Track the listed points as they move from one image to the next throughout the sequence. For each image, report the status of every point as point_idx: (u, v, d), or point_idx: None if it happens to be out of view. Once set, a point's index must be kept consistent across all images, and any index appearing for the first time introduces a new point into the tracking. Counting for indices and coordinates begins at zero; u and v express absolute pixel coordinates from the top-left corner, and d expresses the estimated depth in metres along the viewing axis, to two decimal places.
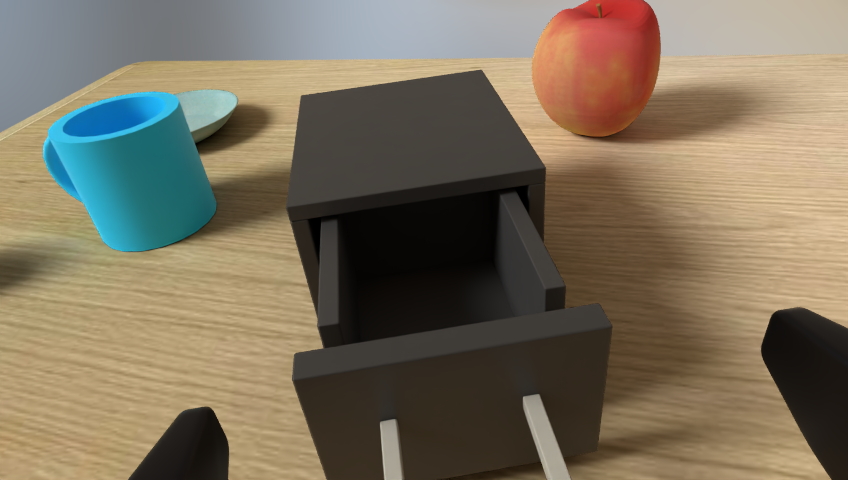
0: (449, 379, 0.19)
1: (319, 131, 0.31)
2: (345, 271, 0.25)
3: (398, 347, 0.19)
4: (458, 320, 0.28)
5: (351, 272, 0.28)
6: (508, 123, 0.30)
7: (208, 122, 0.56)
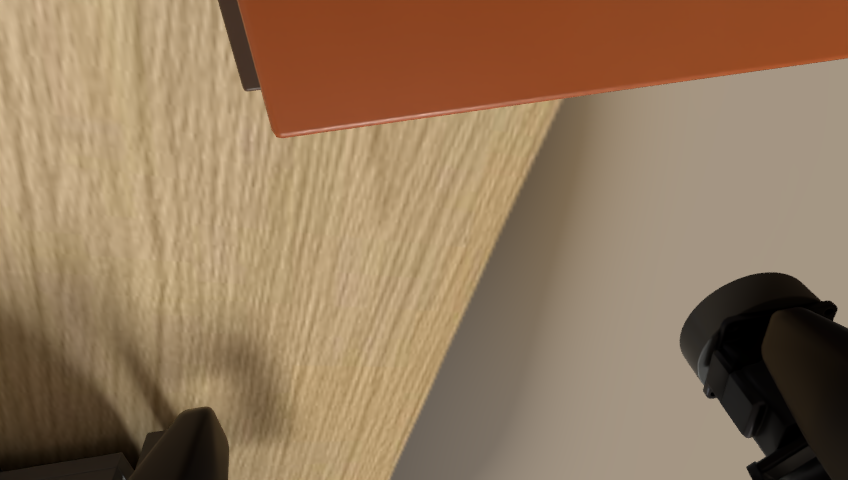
0: None
1: None
2: None
3: None
4: None
5: None
6: None
7: None
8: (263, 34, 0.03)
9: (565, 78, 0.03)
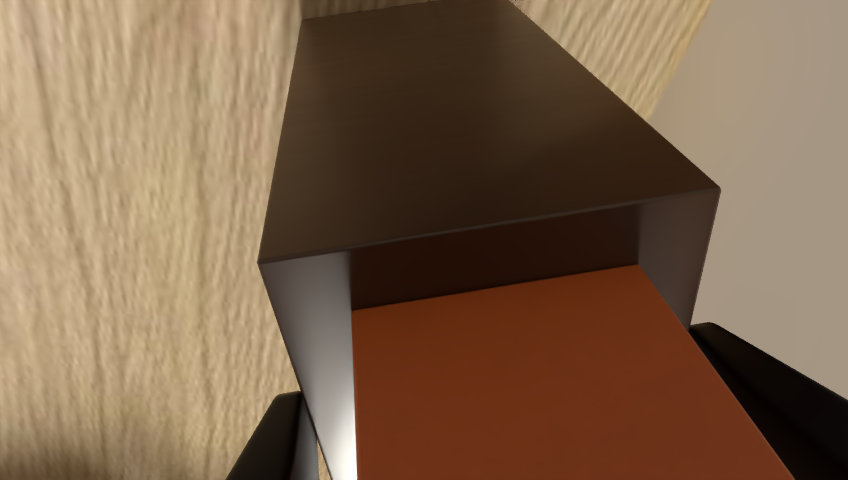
0: None
1: None
2: None
3: None
4: None
5: None
6: None
7: None
8: None
9: None
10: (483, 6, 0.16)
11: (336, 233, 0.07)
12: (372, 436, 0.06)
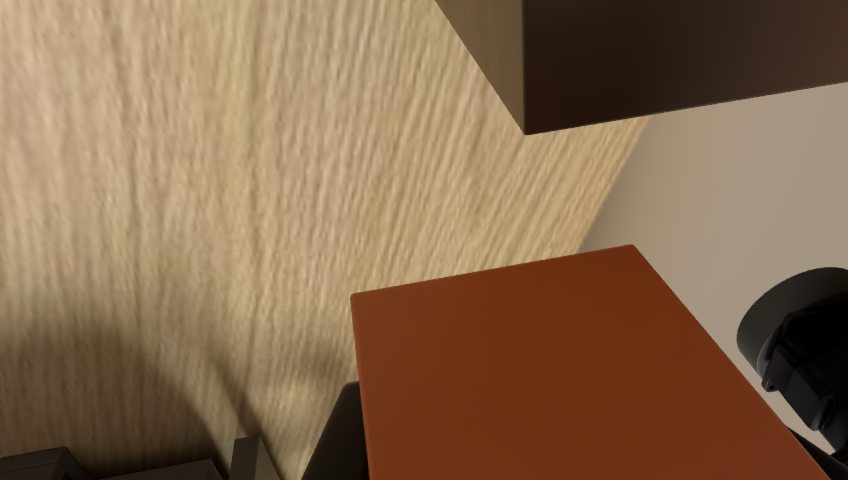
0: None
1: None
2: None
3: None
4: None
5: None
6: None
7: None
8: None
9: None
10: None
11: None
12: (380, 414, 0.06)
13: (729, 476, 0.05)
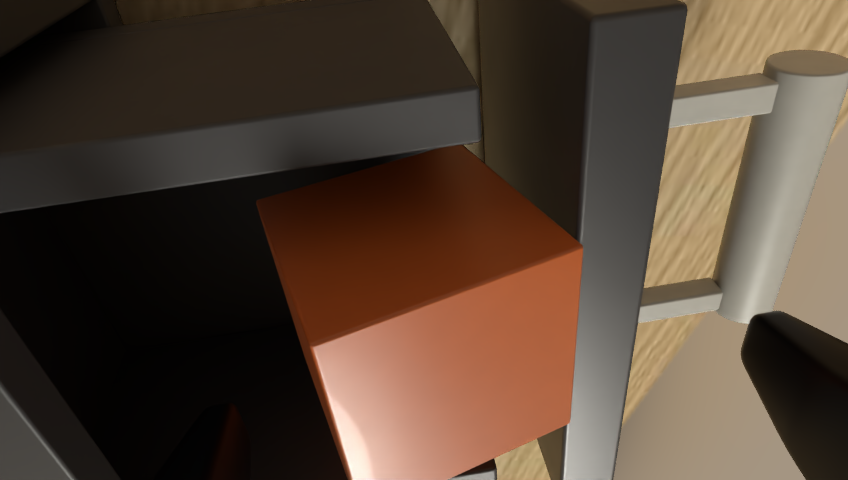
0: None
1: None
2: (262, 443, 0.13)
3: (596, 399, 0.11)
4: None
5: (179, 396, 0.14)
6: None
7: None
8: (300, 339, 0.12)
9: None
10: None
11: None
12: (362, 173, 0.10)
13: (332, 293, 0.08)
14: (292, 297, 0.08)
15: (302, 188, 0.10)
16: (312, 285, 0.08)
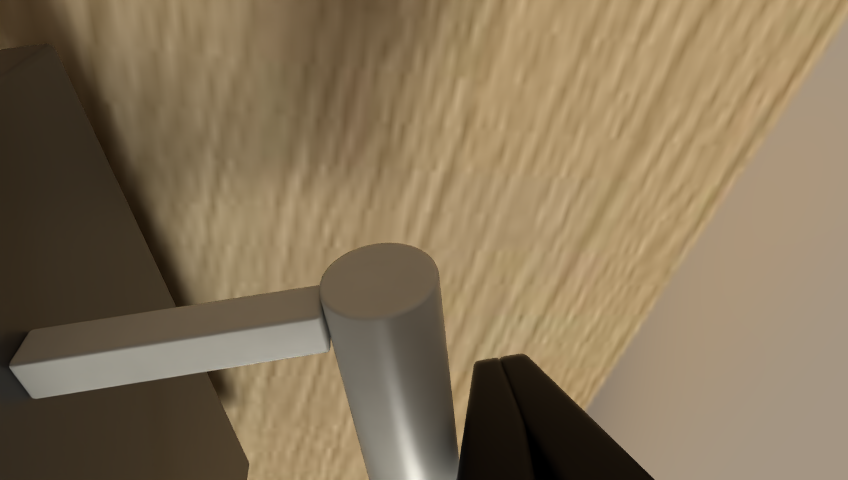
0: None
1: None
2: None
3: None
4: None
5: None
6: None
7: None
8: None
9: None
10: None
11: None
12: None
13: None
14: None
15: None
16: None
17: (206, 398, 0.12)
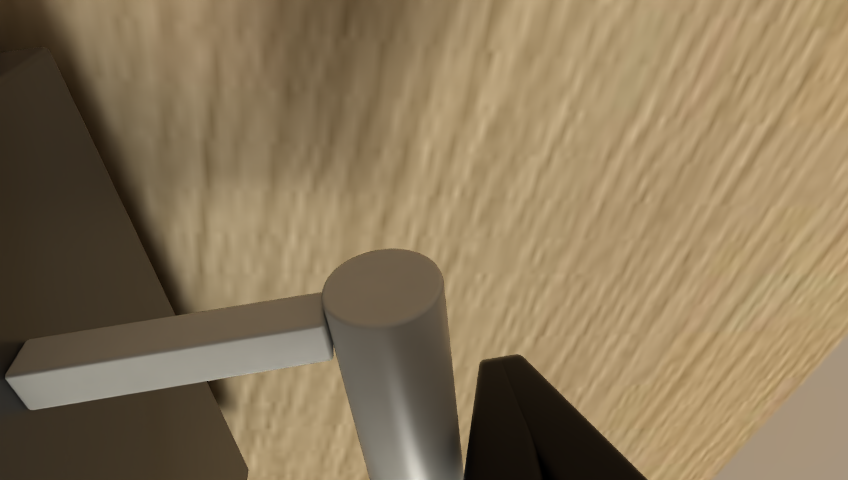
0: None
1: None
2: None
3: None
4: None
5: None
6: None
7: None
8: None
9: None
10: None
11: None
12: None
13: None
14: None
15: None
16: None
17: (205, 405, 0.12)
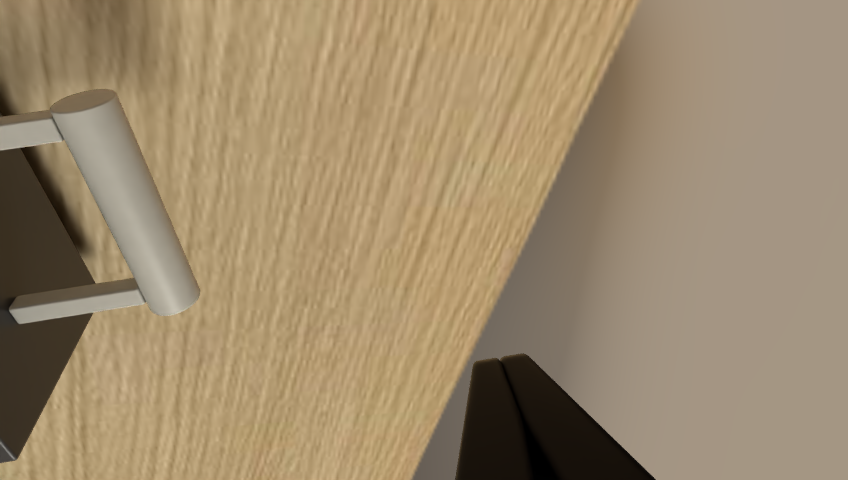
0: None
1: None
2: None
3: None
4: None
5: None
6: None
7: None
8: None
9: None
10: None
11: None
12: None
13: None
14: None
15: None
16: None
17: (56, 232, 0.18)
